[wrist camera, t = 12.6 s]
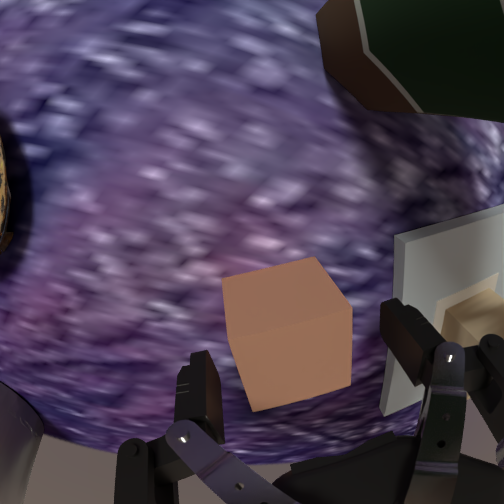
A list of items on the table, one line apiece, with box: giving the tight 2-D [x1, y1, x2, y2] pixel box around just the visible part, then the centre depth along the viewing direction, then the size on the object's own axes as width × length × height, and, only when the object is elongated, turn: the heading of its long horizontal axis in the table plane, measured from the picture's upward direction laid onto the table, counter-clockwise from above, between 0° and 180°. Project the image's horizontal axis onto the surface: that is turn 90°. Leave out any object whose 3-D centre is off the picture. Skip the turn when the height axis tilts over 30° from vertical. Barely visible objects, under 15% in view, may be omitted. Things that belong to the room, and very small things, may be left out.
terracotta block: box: [222, 256, 352, 412], centre depth 15 cm, size 5×5×5 cm
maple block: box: [441, 288, 504, 400], centre depth 16 cm, size 5×5×5 cm
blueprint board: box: [379, 204, 504, 417], centre depth 19 cm, size 13×17×1 cm
